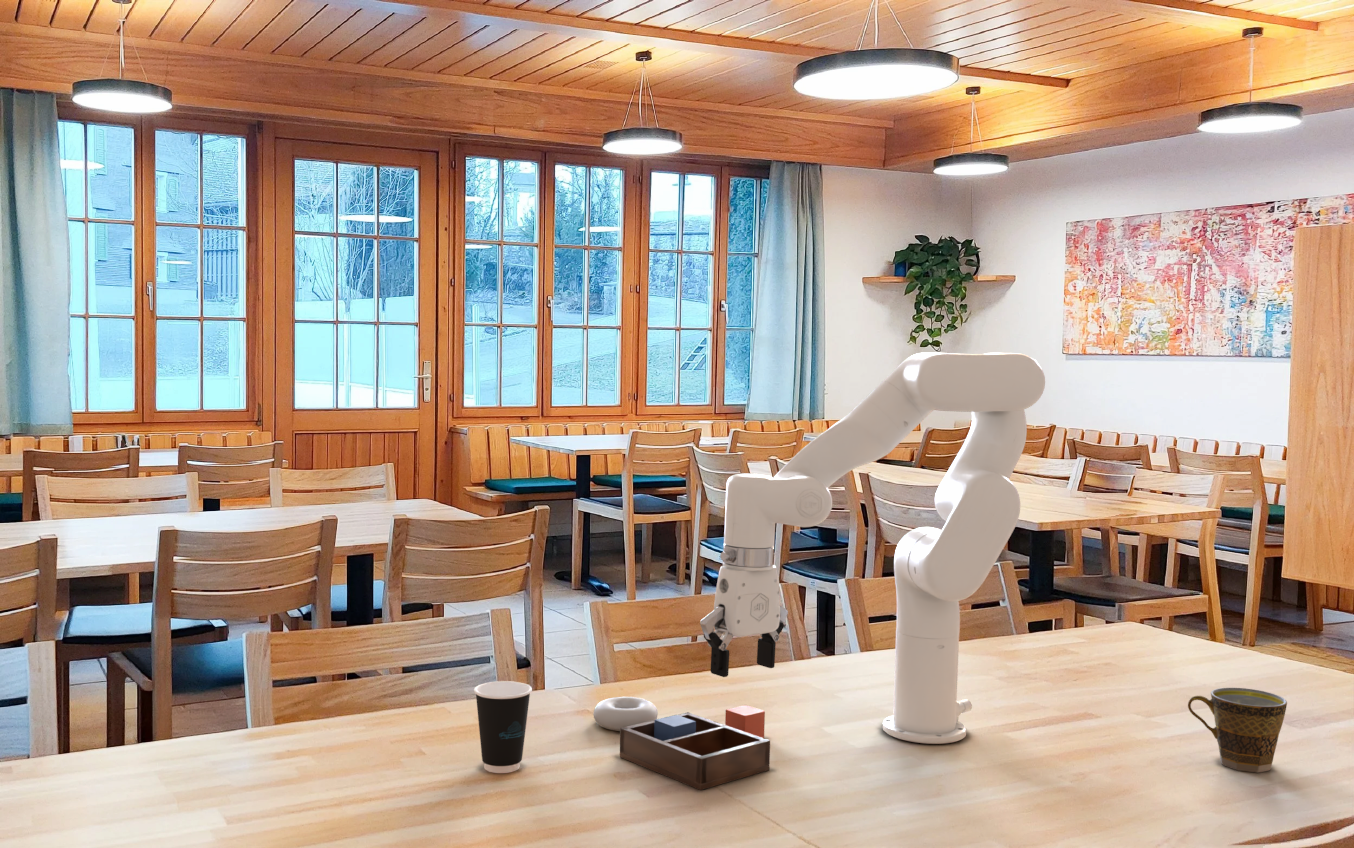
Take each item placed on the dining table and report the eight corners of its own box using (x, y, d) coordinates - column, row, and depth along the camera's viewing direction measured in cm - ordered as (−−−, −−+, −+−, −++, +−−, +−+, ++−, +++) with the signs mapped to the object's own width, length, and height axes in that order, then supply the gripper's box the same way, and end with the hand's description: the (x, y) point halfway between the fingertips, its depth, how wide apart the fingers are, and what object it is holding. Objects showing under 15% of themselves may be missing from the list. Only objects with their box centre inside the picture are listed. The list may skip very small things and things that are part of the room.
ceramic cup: (1278, 758, 182) (1282, 691, 182) (1288, 780, 173) (1291, 709, 172) (1183, 747, 187) (1186, 682, 186) (1187, 768, 177) (1190, 699, 177)
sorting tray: (687, 739, 185) (688, 711, 185) (769, 769, 172) (770, 740, 172) (619, 757, 176) (620, 727, 176) (700, 790, 164) (701, 758, 164)
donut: (585, 732, 188) (650, 736, 186) (585, 709, 188) (650, 713, 186) (602, 713, 198) (664, 717, 196) (602, 692, 198) (664, 695, 196)
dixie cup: (516, 779, 166) (517, 698, 165) (462, 772, 168) (463, 692, 168) (540, 761, 174) (541, 684, 173) (488, 755, 176) (489, 678, 175)
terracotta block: (744, 731, 190) (745, 704, 189) (764, 738, 187) (765, 710, 186) (724, 736, 187) (725, 709, 187) (744, 743, 184) (745, 715, 183)
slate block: (675, 742, 180) (676, 714, 180) (695, 750, 177) (696, 721, 177) (653, 748, 177) (654, 719, 177) (673, 756, 174) (673, 726, 174)
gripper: (723, 565, 177) (718, 684, 177) (806, 556, 188) (800, 668, 189) (688, 557, 182) (683, 672, 183) (770, 549, 194) (765, 657, 195)
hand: (742, 670), depth 186 cm, fingers open, 9 cm apart
